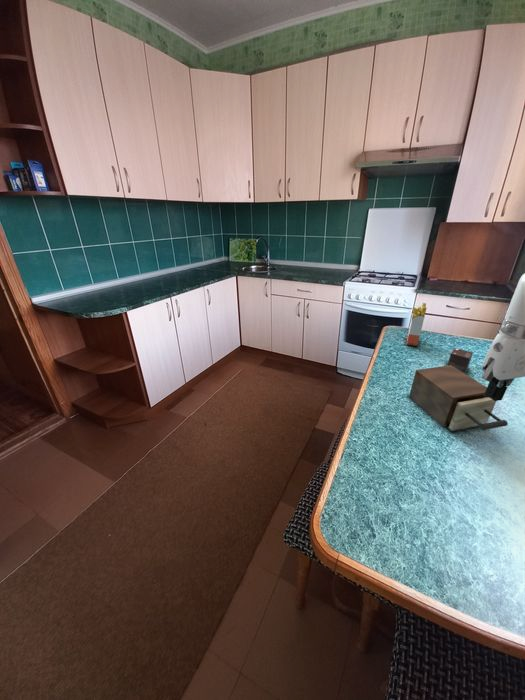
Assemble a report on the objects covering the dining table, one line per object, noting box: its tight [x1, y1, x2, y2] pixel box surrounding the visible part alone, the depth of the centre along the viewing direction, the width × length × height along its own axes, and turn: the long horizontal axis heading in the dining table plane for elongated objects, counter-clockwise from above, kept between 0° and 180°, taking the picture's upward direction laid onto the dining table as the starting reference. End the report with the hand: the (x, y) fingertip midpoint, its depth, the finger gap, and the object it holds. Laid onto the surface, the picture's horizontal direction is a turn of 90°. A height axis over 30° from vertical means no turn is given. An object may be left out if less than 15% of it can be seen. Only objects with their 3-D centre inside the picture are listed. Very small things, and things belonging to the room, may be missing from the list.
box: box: [446, 347, 474, 374], centre depth 107 cm, size 6×6×7 cm
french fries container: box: [406, 302, 427, 347], centre depth 125 cm, size 5×11×18 cm, turn 153°
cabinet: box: [408, 365, 488, 428], centre depth 86 cm, size 15×13×11 cm
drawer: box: [447, 395, 508, 432], centre depth 81 cm, size 20×11×9 cm, turn 13°
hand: (492, 397), depth 72 cm, fingers closed
